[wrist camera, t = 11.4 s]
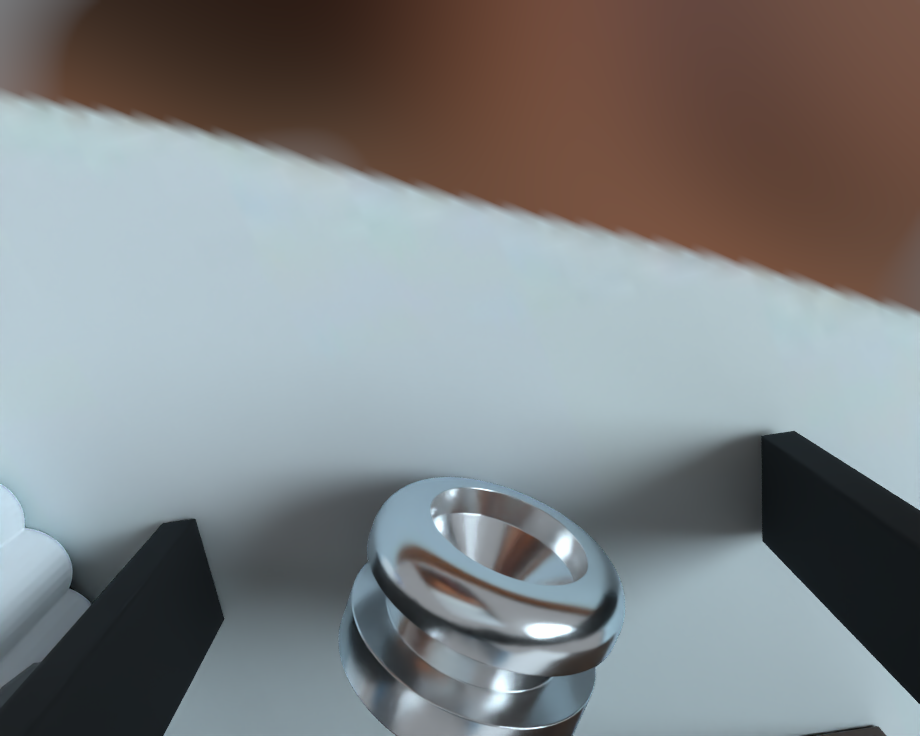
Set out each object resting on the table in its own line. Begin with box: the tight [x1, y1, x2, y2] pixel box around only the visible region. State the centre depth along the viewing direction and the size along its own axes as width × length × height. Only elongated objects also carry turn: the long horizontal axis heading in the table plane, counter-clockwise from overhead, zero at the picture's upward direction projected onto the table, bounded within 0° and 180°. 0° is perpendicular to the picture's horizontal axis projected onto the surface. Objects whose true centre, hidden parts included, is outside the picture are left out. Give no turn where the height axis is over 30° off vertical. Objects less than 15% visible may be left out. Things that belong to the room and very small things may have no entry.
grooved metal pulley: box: [338, 477, 625, 736], centre depth 12 cm, size 5×3×5 cm, turn 72°
